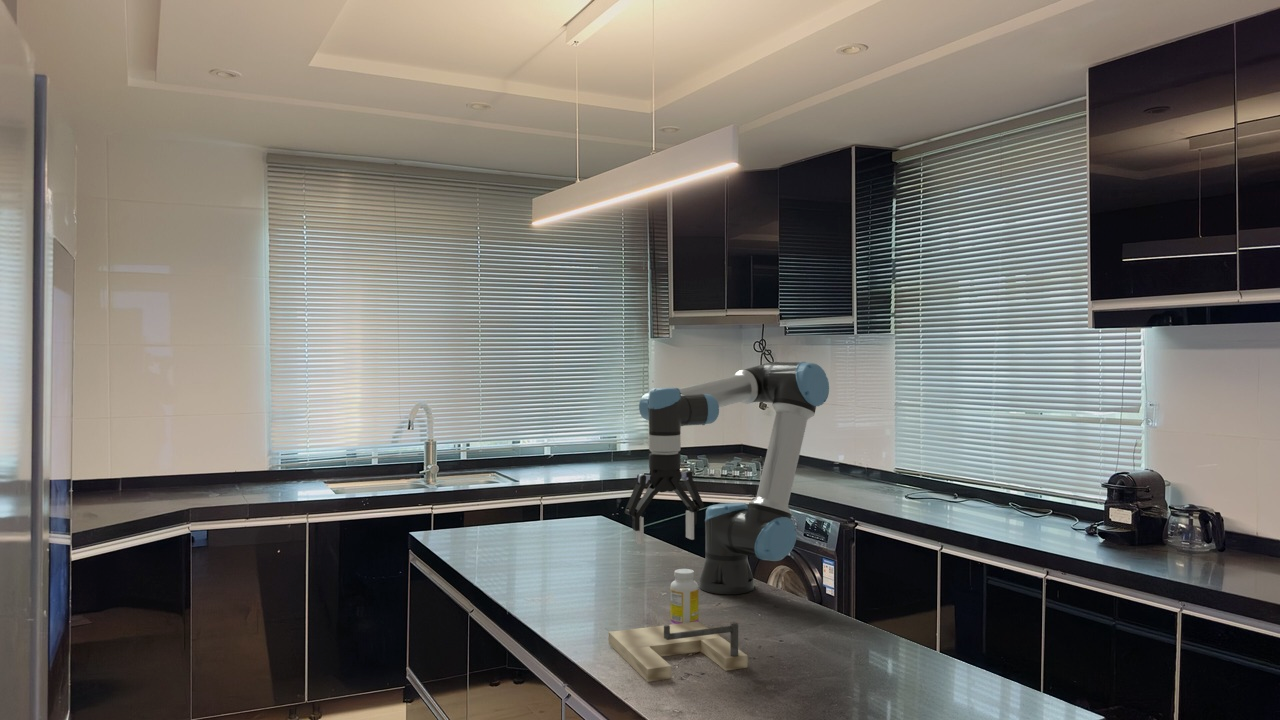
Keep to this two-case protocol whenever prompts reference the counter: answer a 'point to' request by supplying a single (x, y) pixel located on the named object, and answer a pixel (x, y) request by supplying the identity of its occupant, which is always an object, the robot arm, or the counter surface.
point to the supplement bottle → (684, 597)
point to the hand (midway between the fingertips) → (665, 541)
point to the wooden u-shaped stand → (676, 647)
